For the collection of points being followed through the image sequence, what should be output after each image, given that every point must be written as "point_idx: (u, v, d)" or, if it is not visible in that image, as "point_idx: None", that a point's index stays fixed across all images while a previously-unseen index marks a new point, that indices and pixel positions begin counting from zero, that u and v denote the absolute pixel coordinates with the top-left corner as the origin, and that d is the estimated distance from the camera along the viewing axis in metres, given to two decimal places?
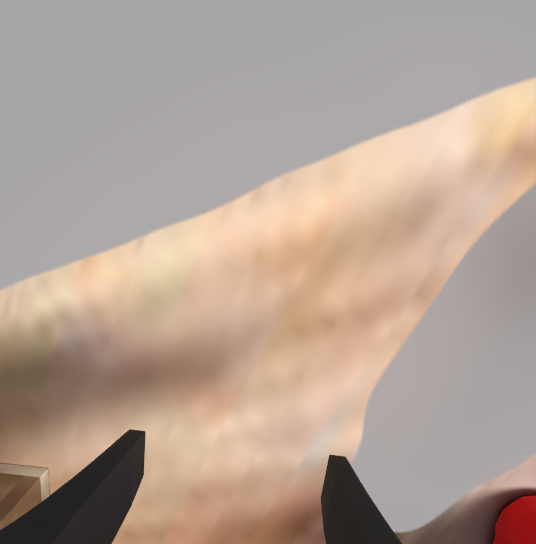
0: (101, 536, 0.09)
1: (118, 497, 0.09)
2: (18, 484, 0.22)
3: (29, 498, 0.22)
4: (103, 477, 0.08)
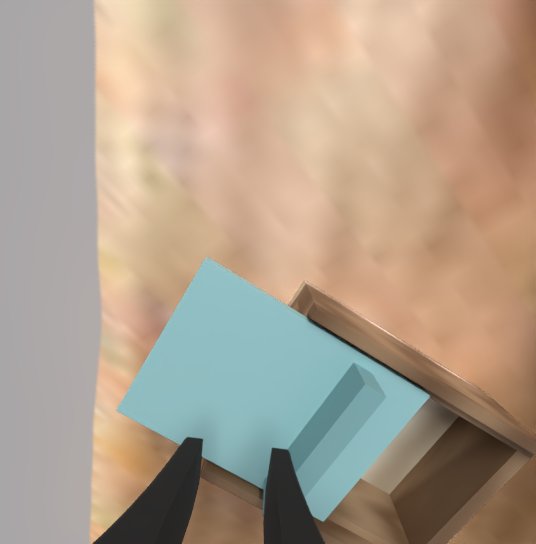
0: None
1: (185, 505, 0.09)
2: (298, 299, 0.19)
3: (318, 293, 0.18)
4: (178, 486, 0.08)
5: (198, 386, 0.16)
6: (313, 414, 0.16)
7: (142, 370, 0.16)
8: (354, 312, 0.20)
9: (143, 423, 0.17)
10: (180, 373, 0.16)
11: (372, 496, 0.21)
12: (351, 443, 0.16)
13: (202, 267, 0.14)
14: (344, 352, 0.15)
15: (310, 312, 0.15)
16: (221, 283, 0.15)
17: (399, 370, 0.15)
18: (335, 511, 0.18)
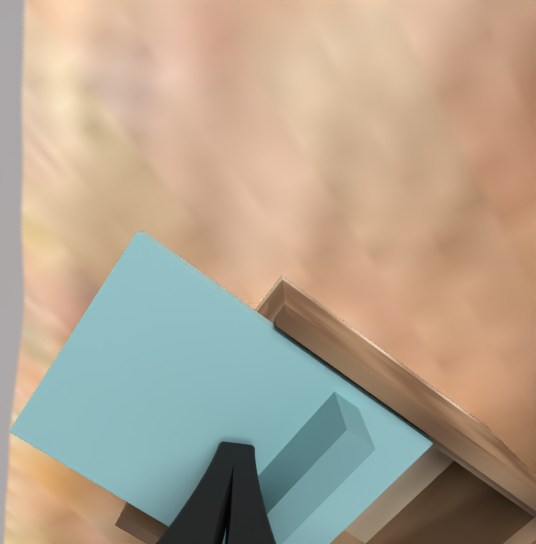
0: None
1: (226, 511, 0.09)
2: (269, 298, 0.15)
3: (295, 293, 0.14)
4: (223, 492, 0.08)
5: (121, 407, 0.12)
6: (275, 456, 0.12)
7: (44, 380, 0.11)
8: (340, 321, 0.16)
9: (46, 450, 0.12)
10: (97, 388, 0.11)
11: None
12: None
13: (132, 244, 0.10)
14: (323, 378, 0.11)
15: (277, 316, 0.11)
16: (158, 269, 0.10)
17: (392, 406, 0.11)
18: None
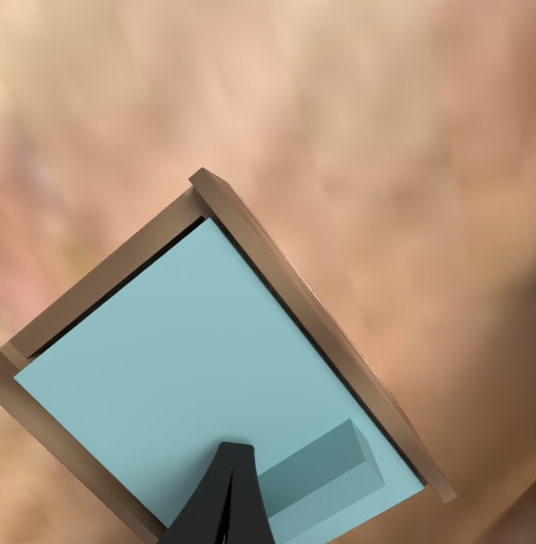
0: None
1: (226, 511, 0.09)
2: None
3: (234, 194, 0.13)
4: (223, 492, 0.08)
5: (138, 382, 0.11)
6: (274, 465, 0.12)
7: (68, 336, 0.11)
8: (277, 245, 0.15)
9: (46, 405, 0.12)
10: (119, 357, 0.11)
11: None
12: None
13: (201, 227, 0.10)
14: (343, 403, 0.11)
15: None
16: (219, 258, 0.10)
17: (291, 305, 0.10)
18: None
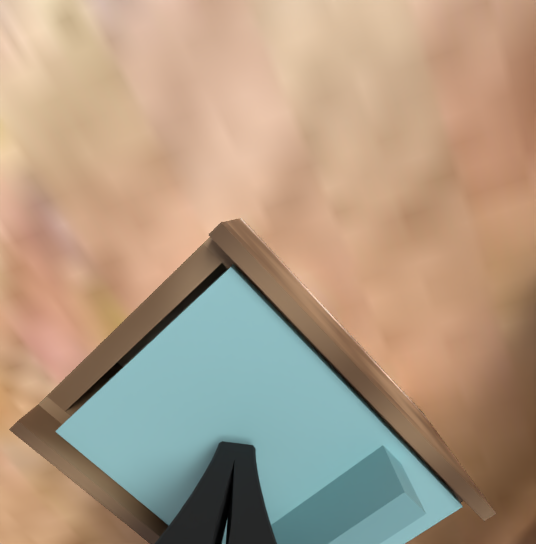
0: None
1: (225, 511, 0.09)
2: None
3: (248, 231, 0.14)
4: (222, 492, 0.08)
5: (174, 427, 0.12)
6: (312, 495, 0.12)
7: (104, 388, 0.11)
8: (292, 274, 0.15)
9: (88, 455, 0.12)
10: (155, 405, 0.12)
11: None
12: None
13: (224, 277, 0.10)
14: (375, 431, 0.12)
15: None
16: (243, 304, 0.11)
17: (316, 344, 0.10)
18: None
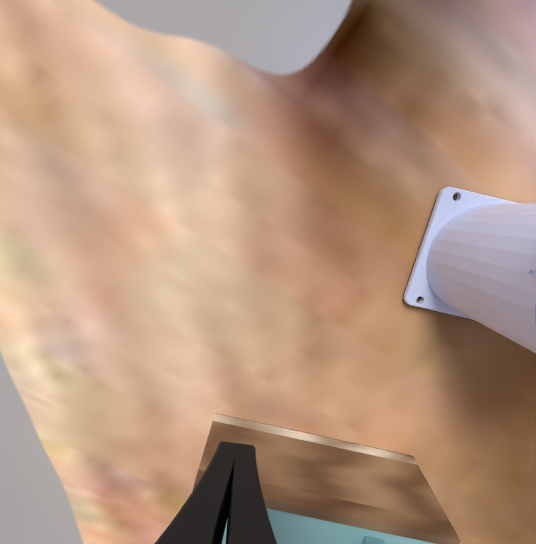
0: None
1: (225, 511, 0.09)
2: None
3: (220, 433, 0.21)
4: (222, 492, 0.08)
5: None
6: None
7: None
8: (265, 430, 0.22)
9: None
10: None
11: None
12: None
13: None
14: (354, 530, 0.18)
15: None
16: None
17: (284, 510, 0.17)
18: None
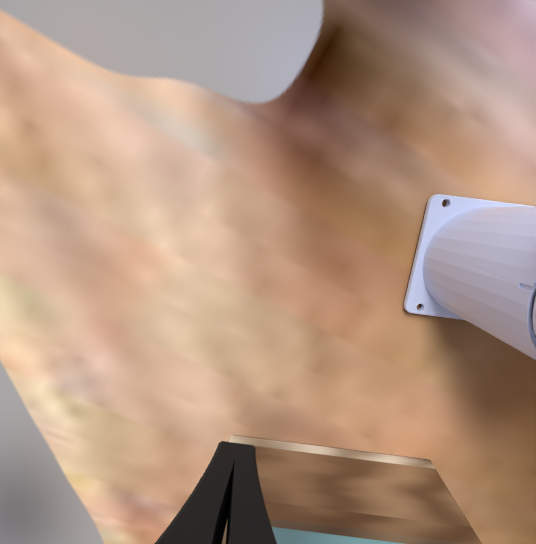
0: None
1: (225, 510, 0.09)
2: None
3: None
4: (222, 492, 0.08)
5: None
6: None
7: None
8: (280, 447, 0.22)
9: None
10: None
11: None
12: None
13: None
14: (376, 543, 0.18)
15: None
16: None
17: (304, 529, 0.17)
18: None
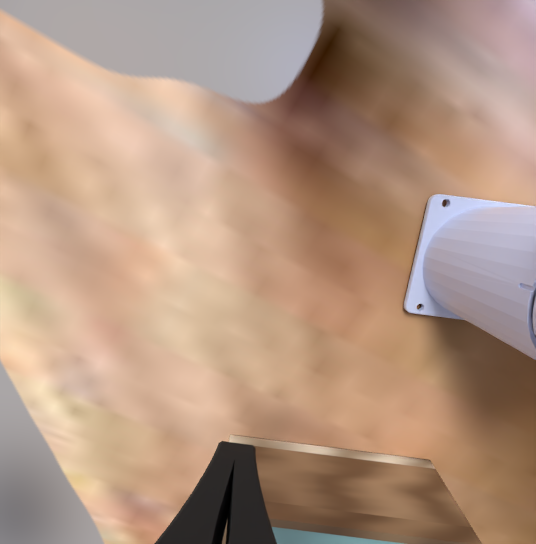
0: None
1: (225, 510, 0.09)
2: None
3: None
4: (222, 492, 0.08)
5: None
6: None
7: None
8: (280, 447, 0.22)
9: None
10: None
11: None
12: None
13: None
14: (376, 543, 0.18)
15: None
16: None
17: (304, 529, 0.17)
18: None
